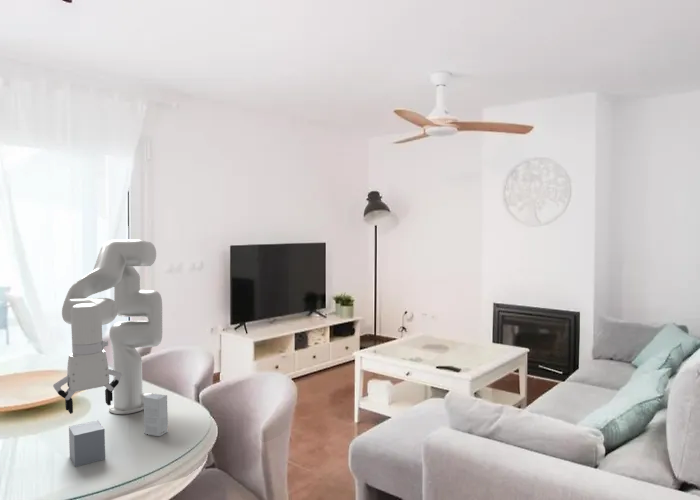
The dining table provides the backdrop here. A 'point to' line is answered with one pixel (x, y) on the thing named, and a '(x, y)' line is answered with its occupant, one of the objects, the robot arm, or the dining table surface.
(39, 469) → the dining table surface
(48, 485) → the dining table surface
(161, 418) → the skincare box
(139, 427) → the dining table surface
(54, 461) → the dining table surface
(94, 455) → the grey matte cube
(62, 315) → the robot arm
